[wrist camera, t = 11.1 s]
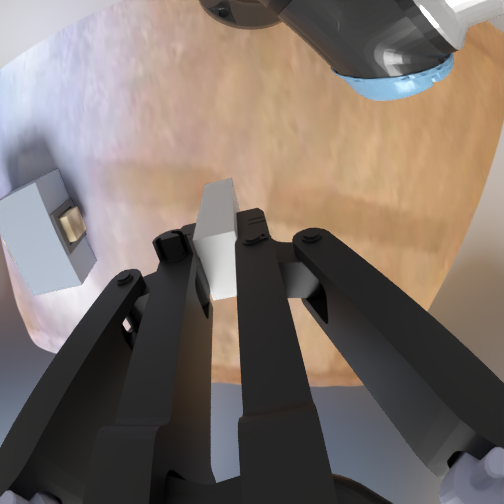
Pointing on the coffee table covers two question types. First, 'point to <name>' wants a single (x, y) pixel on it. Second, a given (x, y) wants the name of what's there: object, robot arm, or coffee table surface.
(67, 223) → the peg
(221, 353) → the coffee table surface
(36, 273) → the sleeve block
